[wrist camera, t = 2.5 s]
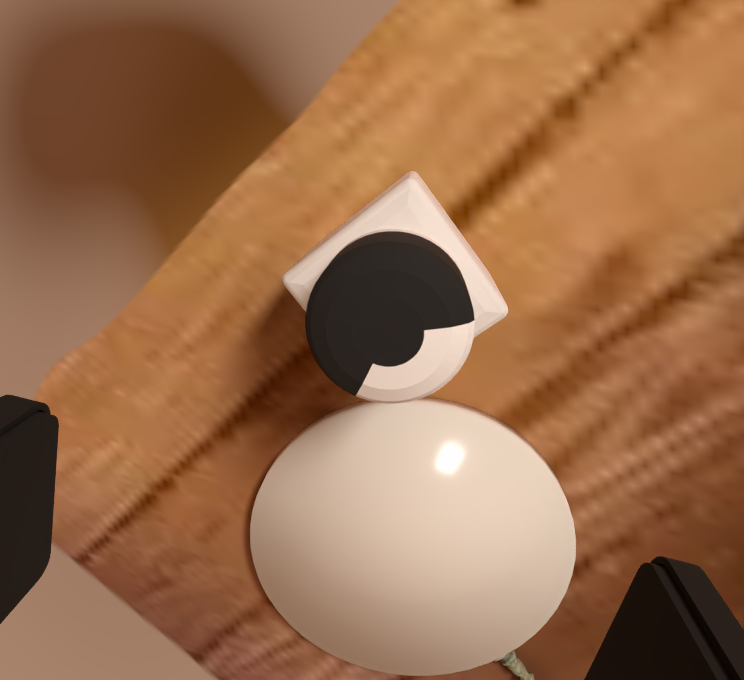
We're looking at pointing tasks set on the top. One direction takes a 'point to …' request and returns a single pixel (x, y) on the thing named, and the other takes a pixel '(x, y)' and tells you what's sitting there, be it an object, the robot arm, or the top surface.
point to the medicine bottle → (394, 297)
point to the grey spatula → (515, 666)
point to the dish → (413, 536)
